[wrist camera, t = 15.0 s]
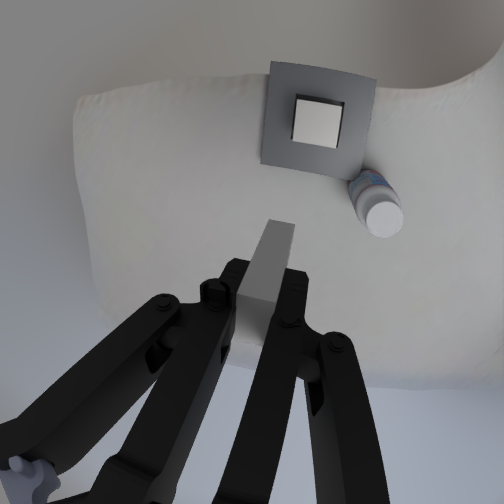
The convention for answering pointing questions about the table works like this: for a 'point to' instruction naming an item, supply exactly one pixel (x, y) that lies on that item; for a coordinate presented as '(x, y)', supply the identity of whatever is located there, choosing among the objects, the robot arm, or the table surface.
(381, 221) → the pill bottle
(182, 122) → the table surface
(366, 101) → the socket plate
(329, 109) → the plug
